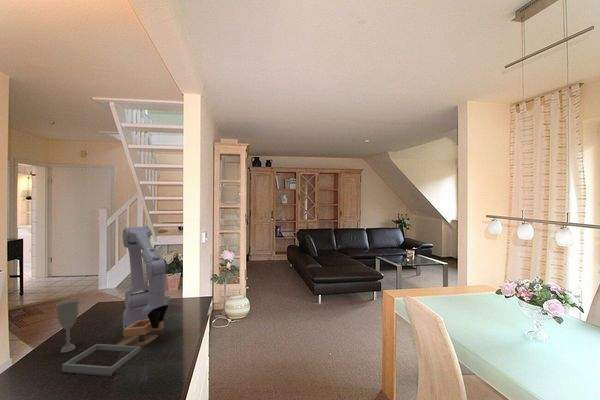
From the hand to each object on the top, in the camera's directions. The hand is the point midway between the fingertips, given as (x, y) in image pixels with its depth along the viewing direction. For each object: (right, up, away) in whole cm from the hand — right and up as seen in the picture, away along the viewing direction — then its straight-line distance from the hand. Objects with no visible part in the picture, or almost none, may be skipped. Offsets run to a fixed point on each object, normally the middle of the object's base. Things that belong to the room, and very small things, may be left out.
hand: (157, 326), depth 111 cm
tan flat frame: (-4, -2, +1) cm, 4 cm away
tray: (-12, -7, -13) cm, 19 cm away
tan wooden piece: (-8, -7, +1) cm, 11 cm away
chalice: (-30, -7, -5) cm, 32 cm away
